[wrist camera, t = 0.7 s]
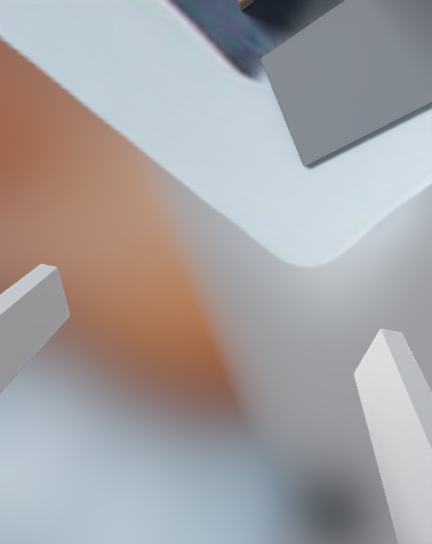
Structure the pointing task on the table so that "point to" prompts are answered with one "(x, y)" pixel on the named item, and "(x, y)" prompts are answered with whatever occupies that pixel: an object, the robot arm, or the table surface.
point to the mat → (352, 72)
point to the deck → (244, 3)
